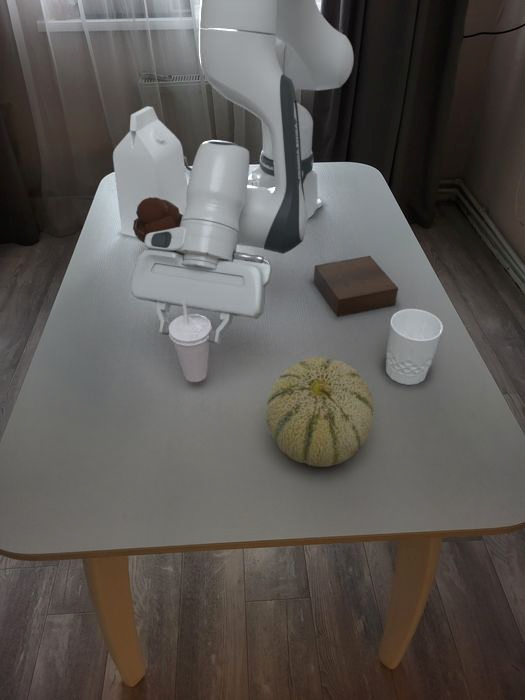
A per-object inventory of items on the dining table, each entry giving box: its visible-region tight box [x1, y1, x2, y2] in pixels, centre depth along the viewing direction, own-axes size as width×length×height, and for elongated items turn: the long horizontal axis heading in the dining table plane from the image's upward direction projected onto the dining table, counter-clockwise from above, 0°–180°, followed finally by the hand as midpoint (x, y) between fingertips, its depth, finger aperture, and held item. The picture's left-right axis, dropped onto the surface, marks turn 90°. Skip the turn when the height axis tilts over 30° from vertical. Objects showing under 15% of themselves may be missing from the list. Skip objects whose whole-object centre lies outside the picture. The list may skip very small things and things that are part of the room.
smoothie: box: [168, 301, 213, 383], centre depth 83 cm, size 6×6×14 cm
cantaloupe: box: [265, 356, 375, 468], centre depth 75 cm, size 15×15×15 cm
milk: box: [112, 105, 188, 238], centre depth 120 cm, size 12×12×26 cm
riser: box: [313, 255, 399, 318], centre depth 108 cm, size 12×12×4 cm
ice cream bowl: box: [133, 197, 183, 244], centre depth 112 cm, size 11×11×15 cm
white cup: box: [385, 308, 444, 386], centre depth 89 cm, size 8×8×10 cm
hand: (189, 338), depth 82 cm, fingers closed on smoothie, 6 cm apart
